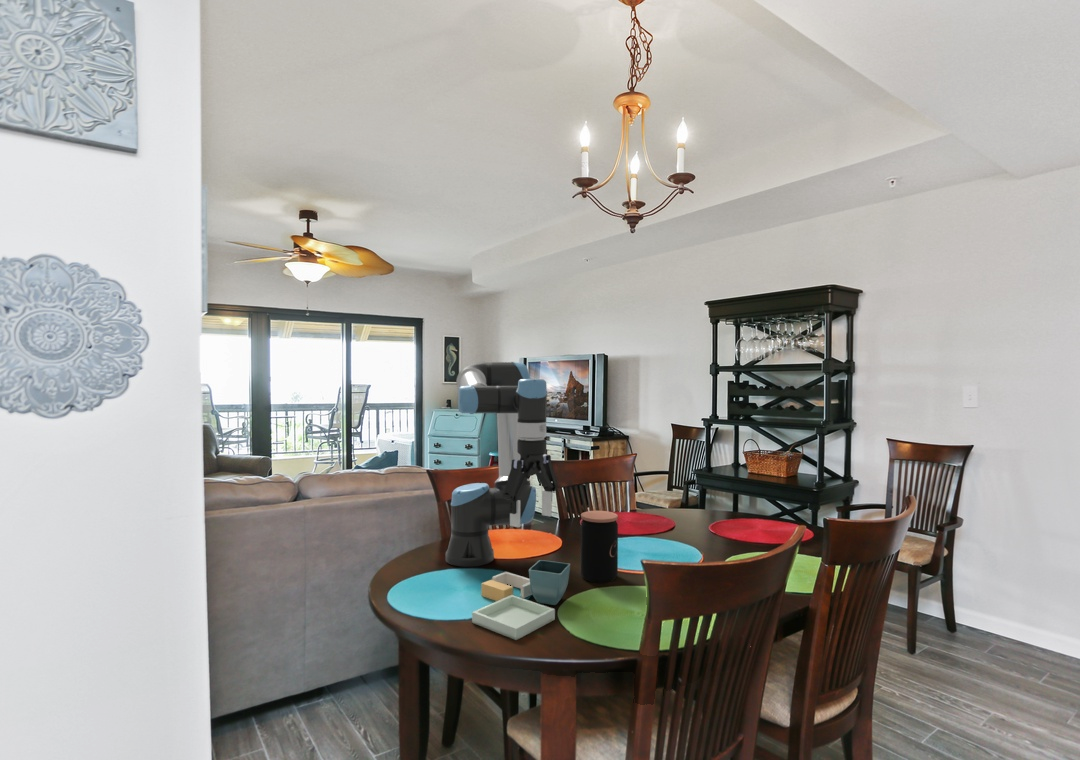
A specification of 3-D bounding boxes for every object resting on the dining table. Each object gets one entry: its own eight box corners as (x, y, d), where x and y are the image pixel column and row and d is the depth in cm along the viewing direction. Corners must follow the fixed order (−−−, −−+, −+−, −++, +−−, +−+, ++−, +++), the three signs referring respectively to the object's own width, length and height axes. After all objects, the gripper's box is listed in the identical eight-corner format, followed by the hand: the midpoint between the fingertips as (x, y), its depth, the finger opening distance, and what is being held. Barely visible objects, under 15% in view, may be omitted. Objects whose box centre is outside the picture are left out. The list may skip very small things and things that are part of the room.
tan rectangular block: (481, 596, 150) (481, 583, 150) (490, 592, 153) (490, 579, 153) (503, 604, 145) (503, 590, 145) (512, 600, 148) (513, 586, 148)
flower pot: (570, 597, 149) (571, 563, 149) (561, 610, 141) (561, 573, 141) (539, 592, 152) (539, 559, 152) (527, 605, 144) (527, 569, 144)
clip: (492, 587, 156) (492, 576, 156) (505, 582, 160) (505, 571, 160) (523, 598, 148) (523, 586, 148) (537, 592, 153) (537, 581, 153)
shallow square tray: (472, 622, 133) (472, 612, 133) (511, 604, 144) (511, 594, 144) (516, 640, 125) (516, 628, 125) (554, 619, 135) (554, 609, 135)
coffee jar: (616, 585, 158) (616, 520, 158) (578, 582, 160) (578, 518, 160) (618, 572, 169) (619, 511, 169) (582, 569, 171) (583, 509, 171)
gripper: (512, 444, 135) (512, 533, 135) (570, 435, 155) (570, 513, 155) (488, 441, 139) (488, 528, 139) (548, 433, 159) (547, 509, 159)
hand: (531, 520), depth 147 cm, fingers open, 13 cm apart
